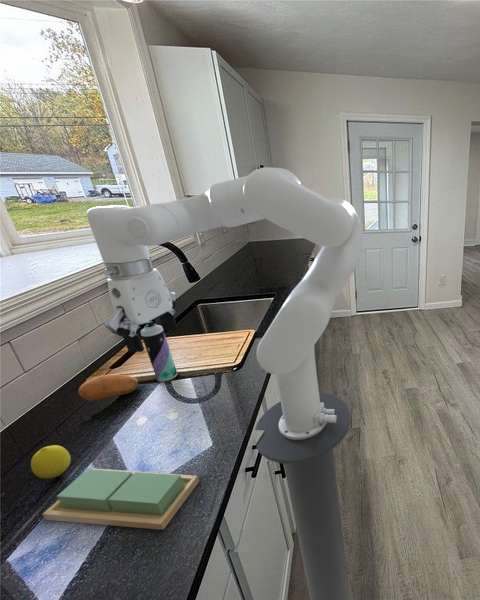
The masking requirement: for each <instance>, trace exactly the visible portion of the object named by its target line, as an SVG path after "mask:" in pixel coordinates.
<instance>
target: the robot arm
mask: <svg viewBox="0 0 480 600" xmlns="http://www.w3.org/2000/svg"><path fill="white" fill-rule="evenodd" d="M300 181H301V180H299V178H298V177H297V175H295V174H294V173H293V172H292V171H290V170H289V169H286V168H283V167H271V166H269V167H267V166H266V167H265V166H264V167H260V168H257V169H255V170H253V171H252V172H250V173H249V174H248V175H244V176H242V177H241V176H240V177H237V178H234V179H229V180H226V181H221V182H216V183H213V184H212V185H210V186H209V188H208V190H206V191H204V192H202V193H199V194H196V195H192V196H189V197H185V198H181V199H177V200H174V201H173V200H172V201H168V202H160V203H152V204H146V205H139V206H133V207H131V206H127V205H104V206H102V205H101V206H96V207H95V206H94V207H91V208H89V209H88V210H87V211H86V218H87V221H88V224H89V227H90V230H91V232H92V234H93V238H94V240H95V243H96V245H97V249H98V251H99V254H100V256H101V260H102V262H103V265H104V268H105V269H103V270H102V273H103V275H104V276H106V277H108V279H107V287H108V288H107V289H108V295H109V298H110V302H111V306H112V309H113V312H112V313H111V314H110V315H109V317H108V318H107V319H106V320H105V321H104V322H103V326H104V327H105V328H106V329H108V330H109V331H110V332H111V333H112V334H114V335H118V337H123V341H124V343H125V347H126V348H127V351H128V352H130V353H131V352H133V353H142V352H144V351H145V346H144V344H143V340H142V337H141V336H140V334H139V333H137V331H138V328H139V325H144V324H146V322H148V321H153V320H154V319H157V318H158V317H159V319H160V323H161V326H162V328H163V330H164V331H169V332H171V331H172V332H176V331H178V329H179V328H178V325H177V322H176V318H175V314H176V310H175V308H176V305H177V302H176V300H177V293H176V292H174V291H173V292H172V291H169V289H168V287H167V285H166V282H165V280H164V278H163V276H162V274H161V273H160V271H159V270H158V269H157V268H154V267H155V266H154V263H153V260H152V258H151V257H152V256H151V255H150V251H149V248H148V247H154V246H159V245H163V244H166V243H169V242H172V241H175V240H177V239H181V238H185V237H187V236H191V235H195V234H198V233H200V232H205V231H209V230H213V229H218V228H223V227H226V228H229V229H230V228H235V227H239V226H243V225H247V224H251V223H254V222H258V221H262V220H267V221H269V222H271V223H272V224H274V225H277V226H278V227H281V228H282V229H285V230H287V231H288V232H290V233H292V234H295V235H297V236H298V237H301V238H302V239H305V240H307V241H309V242H311V243H313V244H315V245H318V246H321V248H320V250H319V252H318V253H317V254H316V256H315V258H314V259H313V262H312V263H311V265H310V267H309V268H308V270H307V271H306V273H305V275H304V276H303V278H302V279H301V280H300V281H299V282H298V284H297V285H295V287H294V288H293V289H292V291H291V292H290V294H289V295H288V296H287V298H286V299H285V301H284V302H283V304H282V306H281V307H280V309H279V310H278V311H277V314H276V315H275V317H274V318H273V320H272V321H271V324H270V325H269V326H268V327H267V329H266V332H265V333H264V335H262V338H261V339H260V340H259V343H258V344H257V347H256V359H257V362H258V364H259V366H260V367H261V368H262V370H264V372H266V373H268V374H271V375H275V377H276V382H277V388H278V394H279V399H280V400H279V401H281V405H282V411H283V416H282V417H281V419H280V421H279V431H280V433H281V434H282V435H283V436H284V437H286V438H288V439H292V440H302V439H306V438H310V437H312V436H314V435H316V434H317V433H319V432H320V431H321V430H322V429H323V428H324V427H325V425H326V424H327V422H329V423H336V420H337V416H336V415H334V412H335V410H334V409H326V408H324V403H323V402H320V397H319V392H320V389H319V382H318V373H317V365H316V364H317V363H316V354H315V353H316V352H315V345H316V343H317V342H318V341H319V339H320V338H321V337H322V335H323V334H324V331H325V330H326V328H327V326H328V324H329V322H330V320H331V316H332V314H333V310H334V308H335V303H336V301H337V299H338V297H339V296H340V294H341V292H342V291H343V289H344V288H345V287H346V285H347V283H348V281H349V279H350V278H351V276H352V275H353V274H354V271H356V268H357V266H358V264H359V261H360V259H361V256H362V252H363V248H364V230H363V227H362V222H361V220H360V217H359V215H358V213H357V212H356V210H355V208H354V207H353V206H352V204H351V203H349V202H348V201H347V200H345V199H343V198H341V197H334V196H333V197H328V198H327V197H326V196H324V195H321V194H320V193H318V192H316V191H314V190H312V189H310V188H308V187H306V186H305V185H303V184H301V182H300ZM129 325H130V326H129ZM128 328H129V329H128ZM328 414H329V415H328Z"/></svg>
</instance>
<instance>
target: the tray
mask: <svg viewBox="0 0 480 600" xmlns="http://www.w3.org/2000/svg"><path fill="white" fill-rule="evenodd" d="M92 470H106V471H120V472H132V474H134V473H135V472H138V471H137V470H123V469H122V470H121V469H107V468H93V469H92ZM139 472H140V473H152V472H150V471H139ZM153 473H154V474H166V473H163V472H153ZM167 474H168V475H180V476H181V478H182V481H183V484H184V486H185V488H184V489H183V490H182V491H181V493H180V494H179V495H178V497H177V498H176V499H175V500H174V502H173V503H172V504H171V506H170V507H169V508H168V509H167V511H166V512H165V513H164V515H163V516H158V515H145V514H133V513H121V512H114V510H112V511H111V512H102V511H90V510H78V509H66V508H63V506H62V504H61V503H60V501H59V499H57V500H56V501H55V502H54V503H53V504H52V505H51V506H50V507H48V508H47V509H46V510H45V511H44V512H43V513H42V516H43V517H44V519H45V520H46V521H55V522H67V523H78V524H79V523H80V524H88V525H101V526H114V527H124V528H125V527H126V528H136V529H147V530H158V531H159V530H161V531H164V530H165V528H166V527H167V526H168V524H169V523H170V522H171V520H172V519H173V518H174V516H175V515H176V514H177V512H178V511H179V510H180V509H181V507H182V506H183V504H185V501H186V500H187V499H188V498H189V496H190V495H191V493H192V492H193V491H194V489H195V488H196V487H197V485H199V483H200V479H199V476H198V475H191V474H177V473H167Z"/></svg>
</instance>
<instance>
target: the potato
mask: <svg viewBox="0 0 480 600" xmlns="http://www.w3.org/2000/svg"><path fill="white" fill-rule="evenodd" d="M138 387H139V382H138V379H137V377H134V376H130V375H127V374H111V373H108V374H103V375H99V376H96V377H95V376H94V377H91V378H90V379H87V380H86V381H84V382H83V383H82V384H81V385H80V386H79V388H78V391H77V392H78V395H79V397H80V398H82V399H84V400H85V401H87V402H92V403H97V402H101V401H104V400H108V399H111V398H115V397H119V396H124V395H128V394H130V393H132V392H134V391H135V390H136V389H137V388H138Z"/></svg>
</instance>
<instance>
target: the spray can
mask: <svg viewBox="0 0 480 600" xmlns="http://www.w3.org/2000/svg"><path fill="white" fill-rule="evenodd" d="M140 335H141V339H142V342H143V343H144V344H143V345H144V348H145V349H146V352H147V355H148V358H149V361H150V364H151V367H152V369H153V370H152V371H153V372H154V375H155V378H156V380H157V382H161V383H163V382H164V383H165V382H168V381H170V380H171V381H172V380H174V379H175V378H176V377H177V376H178V371H177V369H176V365H175V362H174V359H173V356H172V352H171V349H170V346H169V343H168V339H167V337H166V333H165V330H164V329H163V326H162V325H160V324H156V323H155V322H154V321H153V320H150V321H148V322H146V323H145V325H144V327H143V328H142V329H141V330H140Z"/></svg>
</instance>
